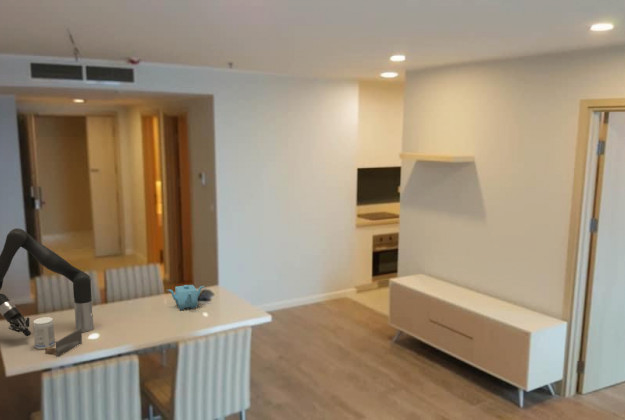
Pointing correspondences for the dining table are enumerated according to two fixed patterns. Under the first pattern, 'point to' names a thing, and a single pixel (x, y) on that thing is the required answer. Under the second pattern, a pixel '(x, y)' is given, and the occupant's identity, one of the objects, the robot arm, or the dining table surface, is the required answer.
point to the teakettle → (186, 296)
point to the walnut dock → (66, 343)
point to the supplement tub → (44, 332)
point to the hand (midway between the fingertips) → (29, 335)
